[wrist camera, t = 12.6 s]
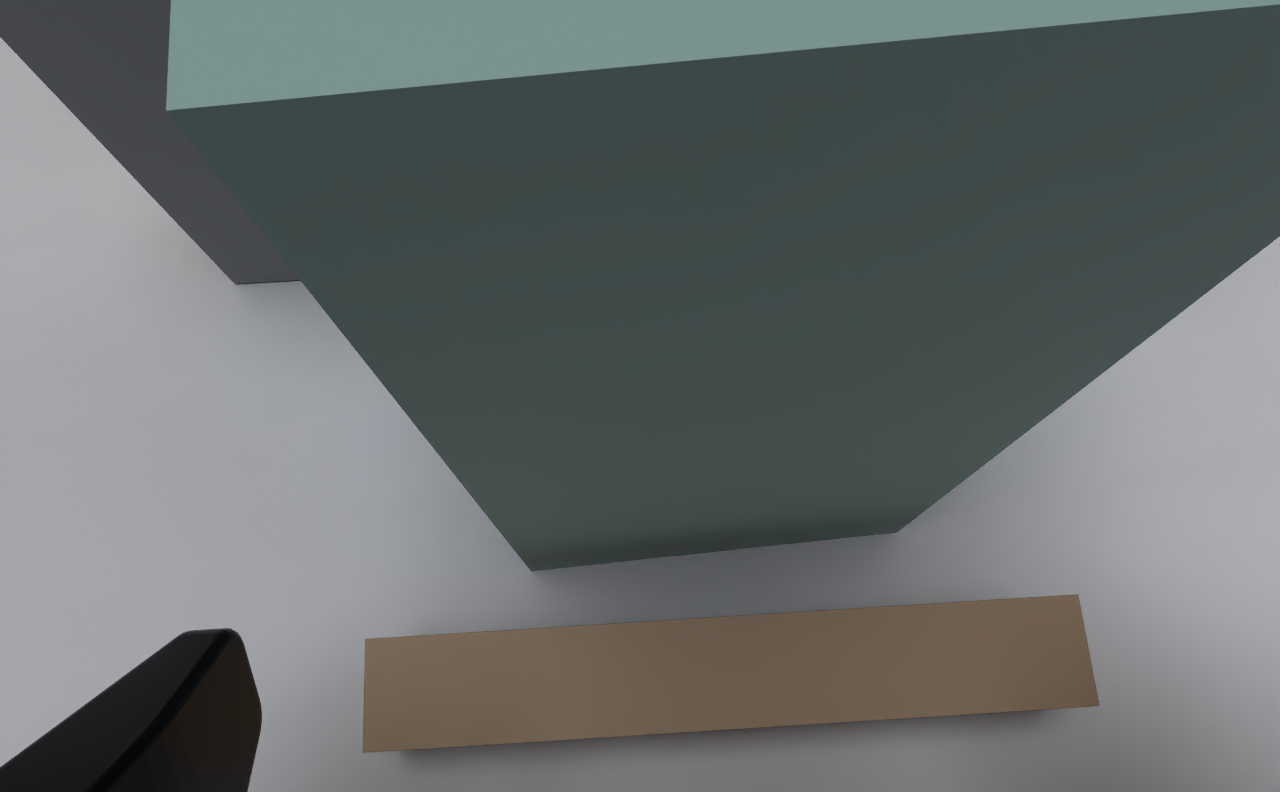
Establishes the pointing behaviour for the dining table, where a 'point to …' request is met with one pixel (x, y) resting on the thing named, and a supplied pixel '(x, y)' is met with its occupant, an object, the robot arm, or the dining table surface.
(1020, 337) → the cabinet box
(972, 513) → the dining table surface
